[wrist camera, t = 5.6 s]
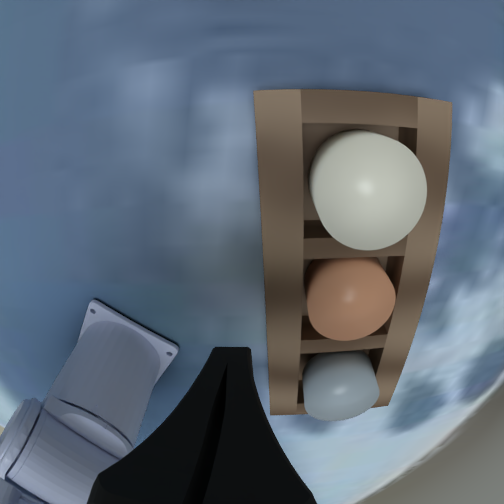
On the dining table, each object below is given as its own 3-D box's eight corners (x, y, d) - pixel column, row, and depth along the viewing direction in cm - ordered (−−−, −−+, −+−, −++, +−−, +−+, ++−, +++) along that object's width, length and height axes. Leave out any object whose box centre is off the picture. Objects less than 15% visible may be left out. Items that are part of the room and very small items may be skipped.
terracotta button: (376, 310, 21) (386, 337, 18) (302, 314, 21) (306, 343, 19) (386, 243, 18) (402, 265, 16) (304, 245, 19) (310, 269, 16)
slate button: (364, 389, 23) (370, 416, 20) (300, 394, 23) (302, 423, 20) (377, 344, 20) (387, 373, 18) (303, 349, 21) (306, 380, 18)
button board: (380, 379, 25) (388, 405, 23) (270, 387, 26) (270, 415, 23) (426, 99, 15) (452, 102, 12) (255, 92, 16) (253, 90, 13)
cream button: (399, 225, 16) (418, 248, 14) (307, 227, 17) (314, 252, 14) (406, 131, 14) (431, 140, 11) (306, 128, 14) (314, 134, 12)
